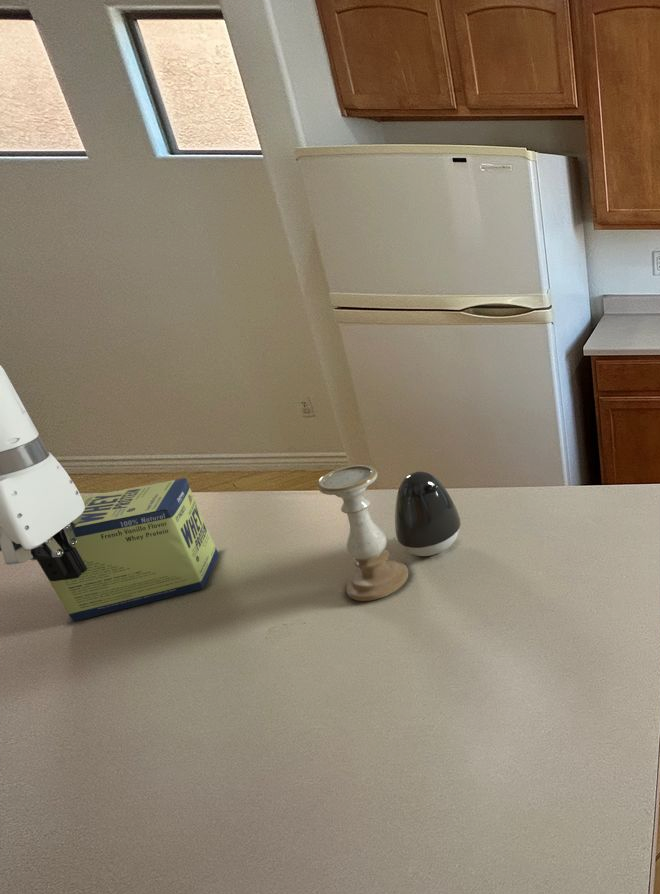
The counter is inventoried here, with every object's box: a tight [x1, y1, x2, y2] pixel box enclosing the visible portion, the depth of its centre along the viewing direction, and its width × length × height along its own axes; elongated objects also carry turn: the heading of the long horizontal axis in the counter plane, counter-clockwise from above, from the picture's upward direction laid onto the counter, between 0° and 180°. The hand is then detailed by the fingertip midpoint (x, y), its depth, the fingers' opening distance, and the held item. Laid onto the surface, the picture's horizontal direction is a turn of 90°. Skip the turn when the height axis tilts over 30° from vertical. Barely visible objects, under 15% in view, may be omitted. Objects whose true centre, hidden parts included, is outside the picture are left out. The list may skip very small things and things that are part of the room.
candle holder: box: [317, 464, 409, 602], centre depth 87 cm, size 9×9×20 cm
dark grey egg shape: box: [394, 470, 461, 557], centre depth 97 cm, size 10×10×15 cm
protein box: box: [40, 477, 220, 622], centre depth 86 cm, size 10×16×16 cm
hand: (69, 575), depth 75 cm, fingers closed
